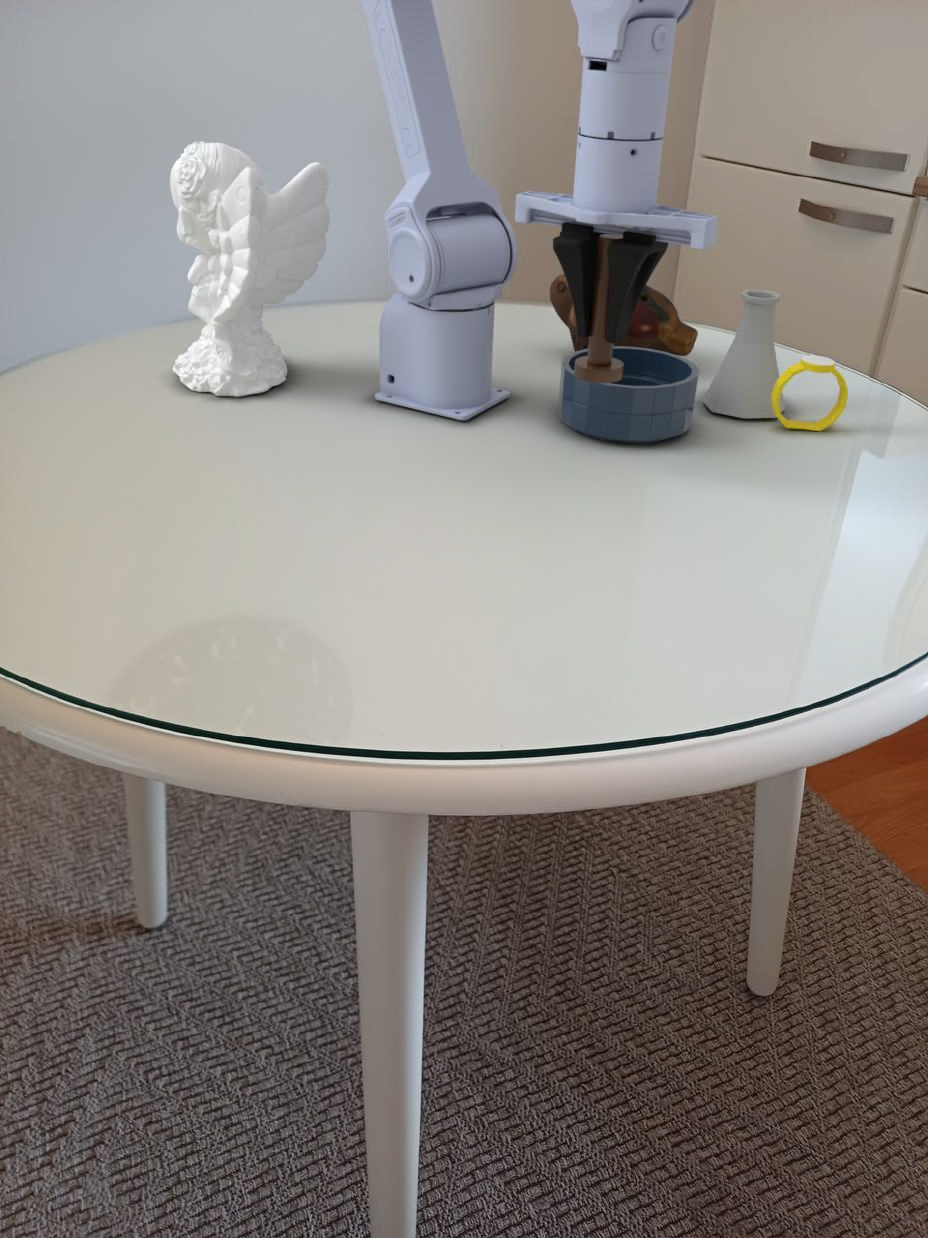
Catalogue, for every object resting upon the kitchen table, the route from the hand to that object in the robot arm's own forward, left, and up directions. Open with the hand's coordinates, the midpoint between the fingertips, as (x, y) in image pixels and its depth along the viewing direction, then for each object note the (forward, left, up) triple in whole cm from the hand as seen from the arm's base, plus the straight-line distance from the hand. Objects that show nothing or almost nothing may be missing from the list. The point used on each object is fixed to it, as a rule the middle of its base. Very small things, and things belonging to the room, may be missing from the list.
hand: (601, 336), depth 80 cm
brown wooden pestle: (0, 0, -3) cm, 3 cm away
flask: (+6, +19, -10) cm, 23 cm away
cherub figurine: (-35, 0, -10) cm, 37 cm away
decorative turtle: (-9, +25, -10) cm, 29 cm away
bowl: (-1, +9, -10) cm, 14 cm away
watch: (+12, +17, -10) cm, 23 cm away
